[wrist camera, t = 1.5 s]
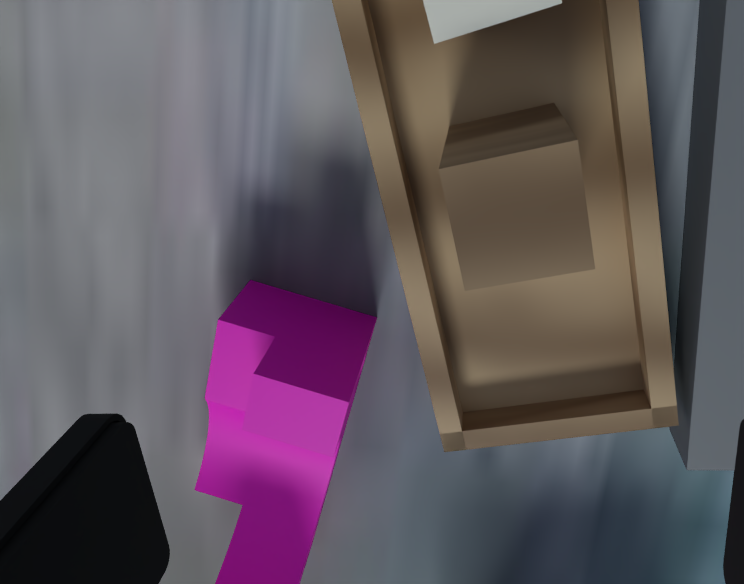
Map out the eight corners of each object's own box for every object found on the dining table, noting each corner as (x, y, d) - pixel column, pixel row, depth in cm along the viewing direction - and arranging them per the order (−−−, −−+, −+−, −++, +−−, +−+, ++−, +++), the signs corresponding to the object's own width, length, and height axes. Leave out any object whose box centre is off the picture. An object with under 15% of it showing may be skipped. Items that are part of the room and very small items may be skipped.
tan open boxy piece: (318, -132, 25) (240, -189, 17) (596, -223, 23) (658, -339, 15) (447, 408, 34) (437, 541, 26) (659, 382, 32) (720, 517, 24)
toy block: (251, 278, 32) (189, 354, 26) (377, 315, 32) (349, 402, 25) (207, 510, 39) (149, 620, 32) (312, 542, 38) (275, 660, 32)
